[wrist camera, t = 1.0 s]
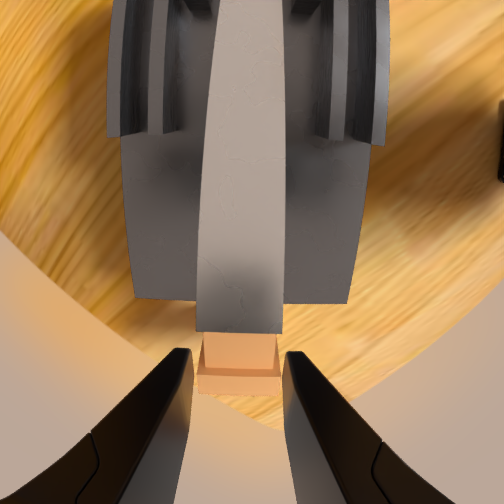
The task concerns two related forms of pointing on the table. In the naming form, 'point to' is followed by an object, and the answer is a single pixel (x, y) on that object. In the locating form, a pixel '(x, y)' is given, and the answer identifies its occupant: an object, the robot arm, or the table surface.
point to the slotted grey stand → (296, 136)
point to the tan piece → (239, 364)
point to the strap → (244, 174)
